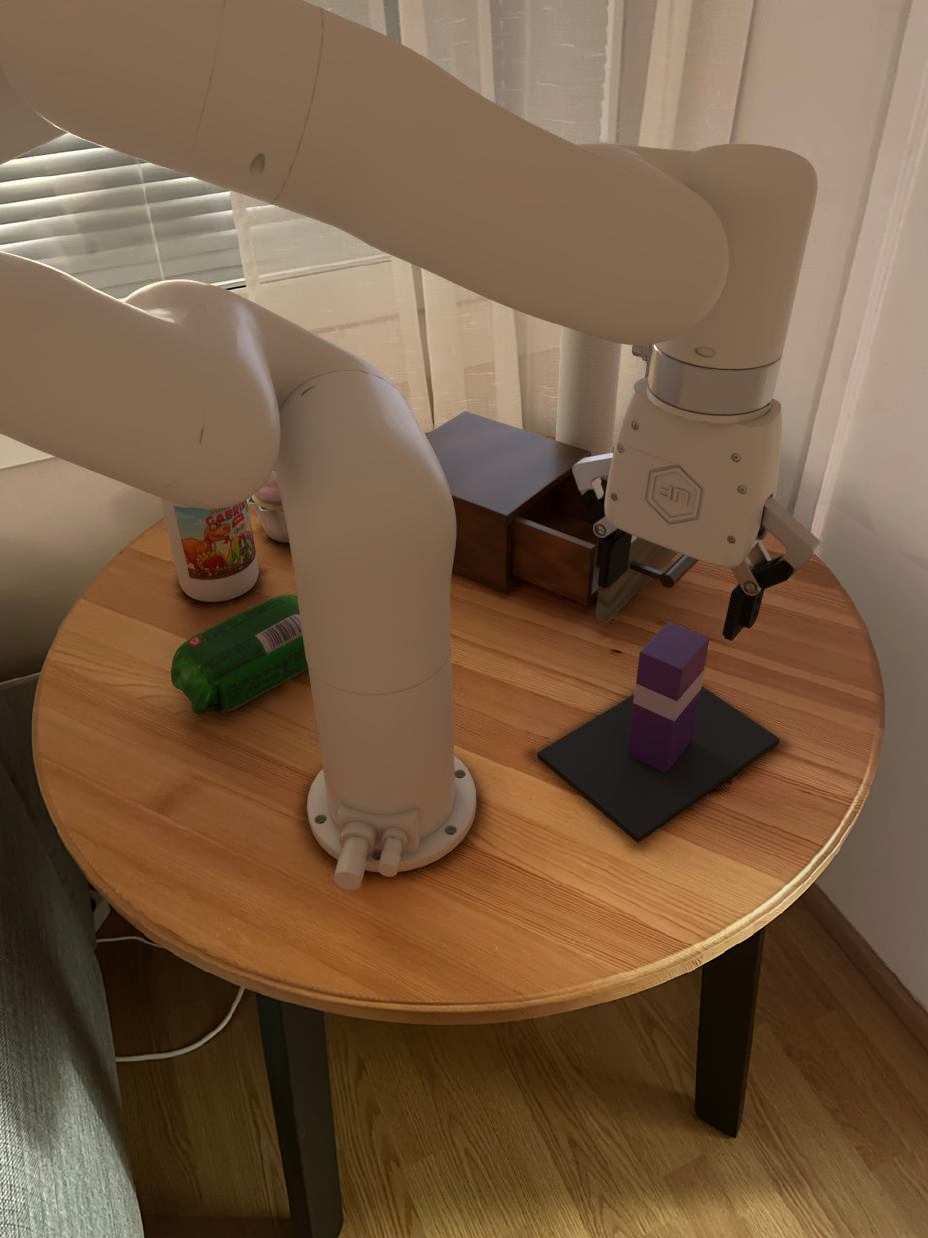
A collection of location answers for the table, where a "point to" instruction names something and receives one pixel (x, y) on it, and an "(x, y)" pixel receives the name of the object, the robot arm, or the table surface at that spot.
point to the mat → (642, 790)
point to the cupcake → (270, 510)
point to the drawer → (582, 553)
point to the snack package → (241, 656)
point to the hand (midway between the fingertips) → (672, 603)
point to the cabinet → (495, 488)
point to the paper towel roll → (587, 391)
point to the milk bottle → (212, 550)
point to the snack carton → (667, 695)
